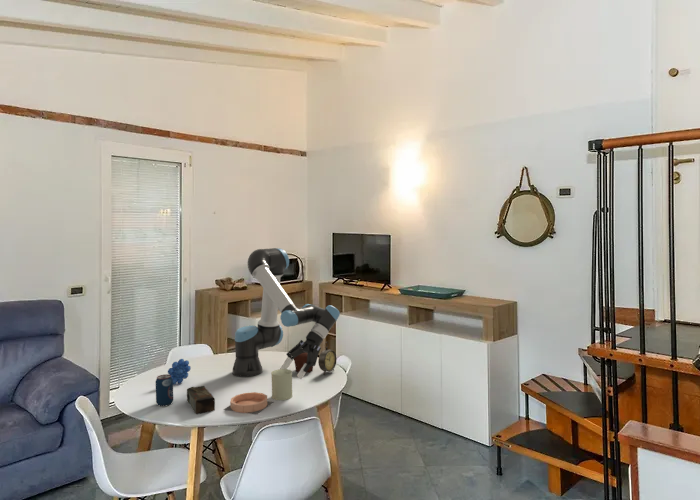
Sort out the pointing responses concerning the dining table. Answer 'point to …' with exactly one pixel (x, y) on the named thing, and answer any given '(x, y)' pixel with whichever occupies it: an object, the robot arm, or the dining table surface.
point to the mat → (252, 412)
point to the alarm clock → (327, 360)
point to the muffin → (301, 362)
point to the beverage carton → (200, 399)
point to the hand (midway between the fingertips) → (290, 374)
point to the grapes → (179, 371)
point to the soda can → (164, 390)
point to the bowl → (248, 402)
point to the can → (281, 384)
